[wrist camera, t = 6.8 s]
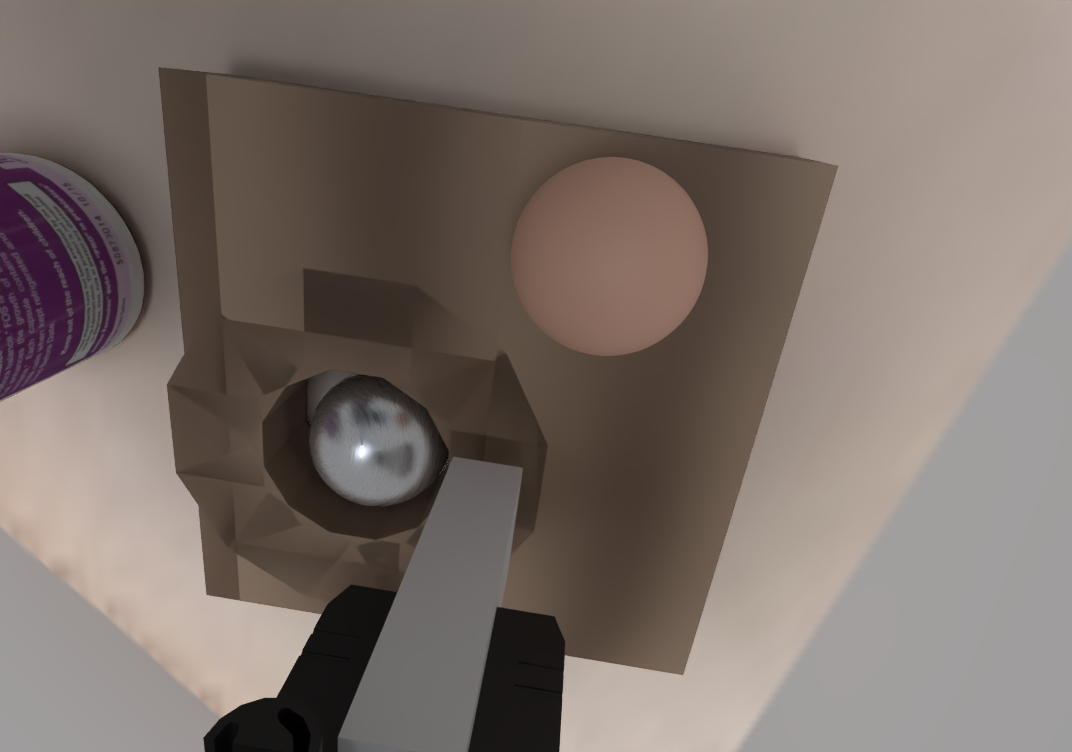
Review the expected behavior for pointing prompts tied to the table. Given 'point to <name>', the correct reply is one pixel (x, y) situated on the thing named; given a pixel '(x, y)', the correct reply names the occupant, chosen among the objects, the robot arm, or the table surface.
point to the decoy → (609, 256)
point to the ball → (375, 442)
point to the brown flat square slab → (461, 350)
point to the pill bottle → (60, 272)
